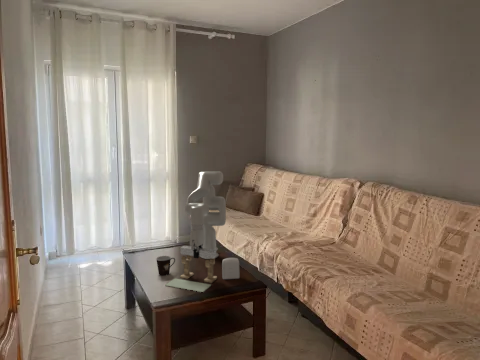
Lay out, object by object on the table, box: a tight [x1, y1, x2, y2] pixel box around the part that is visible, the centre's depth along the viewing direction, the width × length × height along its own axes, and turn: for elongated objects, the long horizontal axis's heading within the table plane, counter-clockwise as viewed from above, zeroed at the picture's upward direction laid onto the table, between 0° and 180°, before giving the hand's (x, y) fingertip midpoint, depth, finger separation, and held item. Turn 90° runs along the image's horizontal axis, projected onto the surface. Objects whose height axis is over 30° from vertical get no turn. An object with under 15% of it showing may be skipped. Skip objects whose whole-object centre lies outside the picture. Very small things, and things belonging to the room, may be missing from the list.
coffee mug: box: [155, 255, 176, 277], centre depth 220 cm, size 12×9×10 cm
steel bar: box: [179, 245, 217, 259], centre depth 212 cm, size 4×22×4 cm, turn 67°
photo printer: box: [221, 257, 241, 280], centre depth 212 cm, size 10×4×12 cm, turn 96°
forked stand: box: [179, 255, 218, 284], centre depth 212 cm, size 7×21×13 cm, turn 67°
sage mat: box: [164, 278, 212, 293], centre depth 202 cm, size 10×24×1 cm, turn 67°
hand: (198, 256), depth 212 cm, fingers closed on steel bar, 4 cm apart
